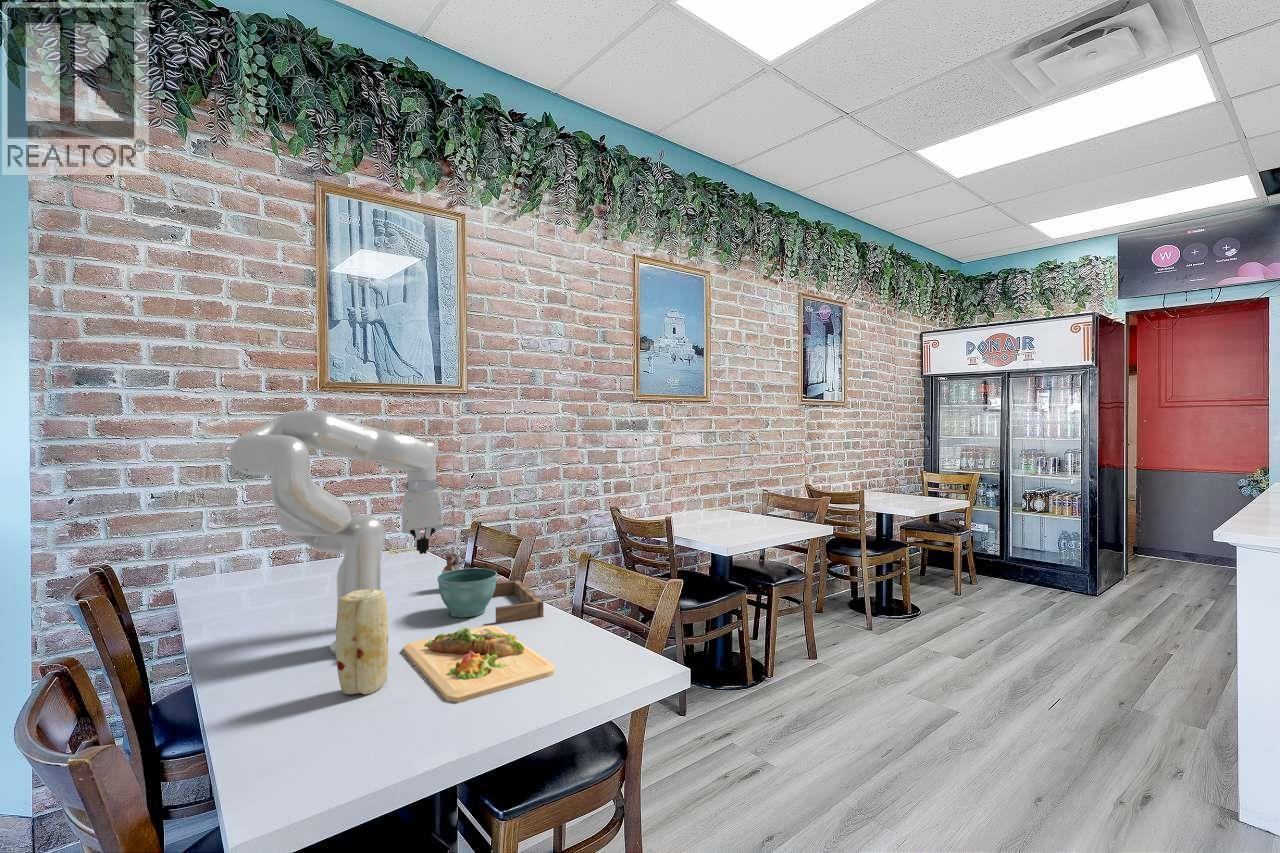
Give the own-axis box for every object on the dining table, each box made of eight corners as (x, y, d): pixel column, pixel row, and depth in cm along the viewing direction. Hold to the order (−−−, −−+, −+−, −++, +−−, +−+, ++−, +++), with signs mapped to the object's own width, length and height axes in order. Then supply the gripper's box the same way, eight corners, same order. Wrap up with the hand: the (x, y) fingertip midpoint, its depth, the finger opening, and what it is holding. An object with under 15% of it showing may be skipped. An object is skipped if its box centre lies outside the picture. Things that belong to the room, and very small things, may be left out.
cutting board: (559, 676, 127) (559, 641, 126) (451, 708, 113) (450, 669, 112) (494, 630, 155) (493, 601, 155) (400, 651, 141) (400, 620, 140)
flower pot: (438, 607, 172) (438, 570, 172) (495, 601, 177) (495, 565, 177) (436, 625, 157) (436, 584, 157) (499, 619, 162) (499, 579, 162)
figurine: (467, 587, 193) (467, 550, 193) (458, 593, 186) (458, 555, 186) (446, 586, 194) (446, 550, 194) (436, 592, 187) (436, 554, 187)
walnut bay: (543, 616, 164) (543, 602, 163) (497, 623, 158) (497, 608, 158) (518, 592, 187) (518, 579, 187) (477, 598, 181) (477, 585, 181)
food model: (383, 678, 124) (382, 583, 124) (394, 688, 119) (393, 590, 119) (332, 692, 118) (331, 592, 118) (341, 704, 113) (340, 599, 113)
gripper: (393, 489, 156) (394, 558, 156) (452, 486, 162) (453, 552, 163) (391, 486, 162) (392, 553, 163) (447, 483, 169) (448, 547, 169)
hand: (422, 552), depth 163 cm, fingers closed
